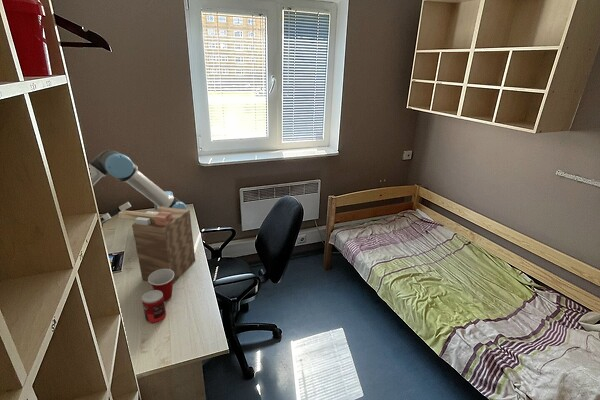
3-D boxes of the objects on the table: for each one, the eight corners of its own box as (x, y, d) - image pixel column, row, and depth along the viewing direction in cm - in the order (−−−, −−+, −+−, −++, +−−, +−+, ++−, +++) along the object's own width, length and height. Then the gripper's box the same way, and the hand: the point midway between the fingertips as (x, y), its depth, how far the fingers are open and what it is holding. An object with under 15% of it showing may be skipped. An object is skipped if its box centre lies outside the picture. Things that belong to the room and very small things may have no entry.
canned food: (149, 311, 140) (145, 290, 135) (168, 310, 140) (165, 289, 136) (142, 324, 132) (138, 302, 128) (163, 323, 133) (159, 301, 129)
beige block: (126, 214, 158) (124, 207, 157) (173, 220, 153) (171, 212, 152) (117, 219, 153) (115, 212, 151) (165, 225, 148) (164, 217, 146)
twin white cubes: (148, 215, 158) (148, 210, 157) (160, 217, 156) (159, 212, 155) (135, 224, 149) (134, 219, 148) (147, 225, 148) (146, 220, 147)
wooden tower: (168, 256, 179) (161, 206, 168) (195, 260, 176) (189, 209, 165) (142, 280, 159) (131, 225, 148) (172, 285, 156) (163, 229, 145)
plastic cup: (151, 308, 141) (146, 285, 137) (152, 293, 151) (148, 271, 146) (177, 303, 145) (174, 280, 140) (177, 288, 154) (174, 266, 150)
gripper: (113, 221, 173) (141, 206, 166) (74, 244, 151) (104, 228, 143) (105, 209, 172) (132, 193, 164) (64, 230, 149) (94, 213, 142)
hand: (119, 209), depth 154 cm, fingers open, 13 cm apart
